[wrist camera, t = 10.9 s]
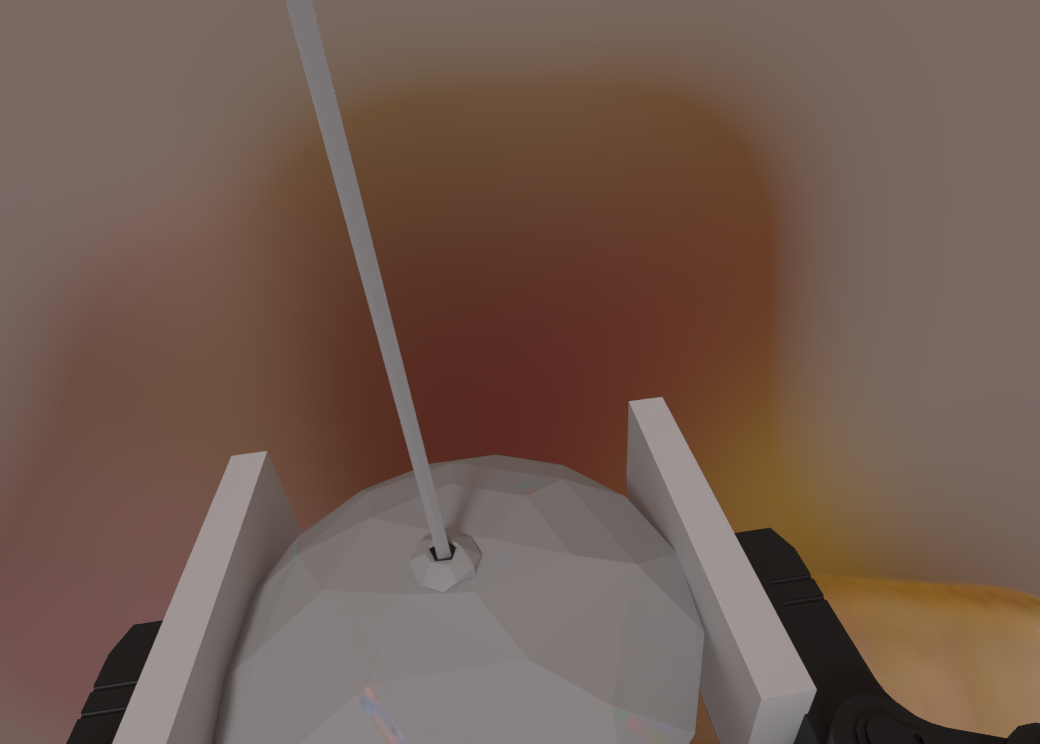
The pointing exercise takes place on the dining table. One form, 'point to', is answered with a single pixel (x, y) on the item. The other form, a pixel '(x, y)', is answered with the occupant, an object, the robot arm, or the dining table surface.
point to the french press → (461, 587)
